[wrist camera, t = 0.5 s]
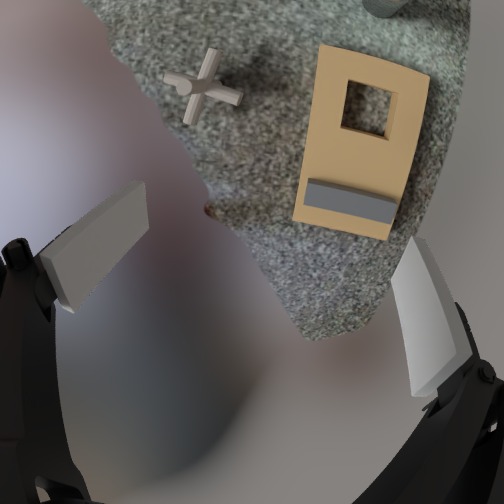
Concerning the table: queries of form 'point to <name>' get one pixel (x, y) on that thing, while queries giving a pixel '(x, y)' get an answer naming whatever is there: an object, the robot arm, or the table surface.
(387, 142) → the jig
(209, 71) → the pipe connector
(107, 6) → the table surface
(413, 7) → the table surface
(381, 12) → the grey metal cylinder
